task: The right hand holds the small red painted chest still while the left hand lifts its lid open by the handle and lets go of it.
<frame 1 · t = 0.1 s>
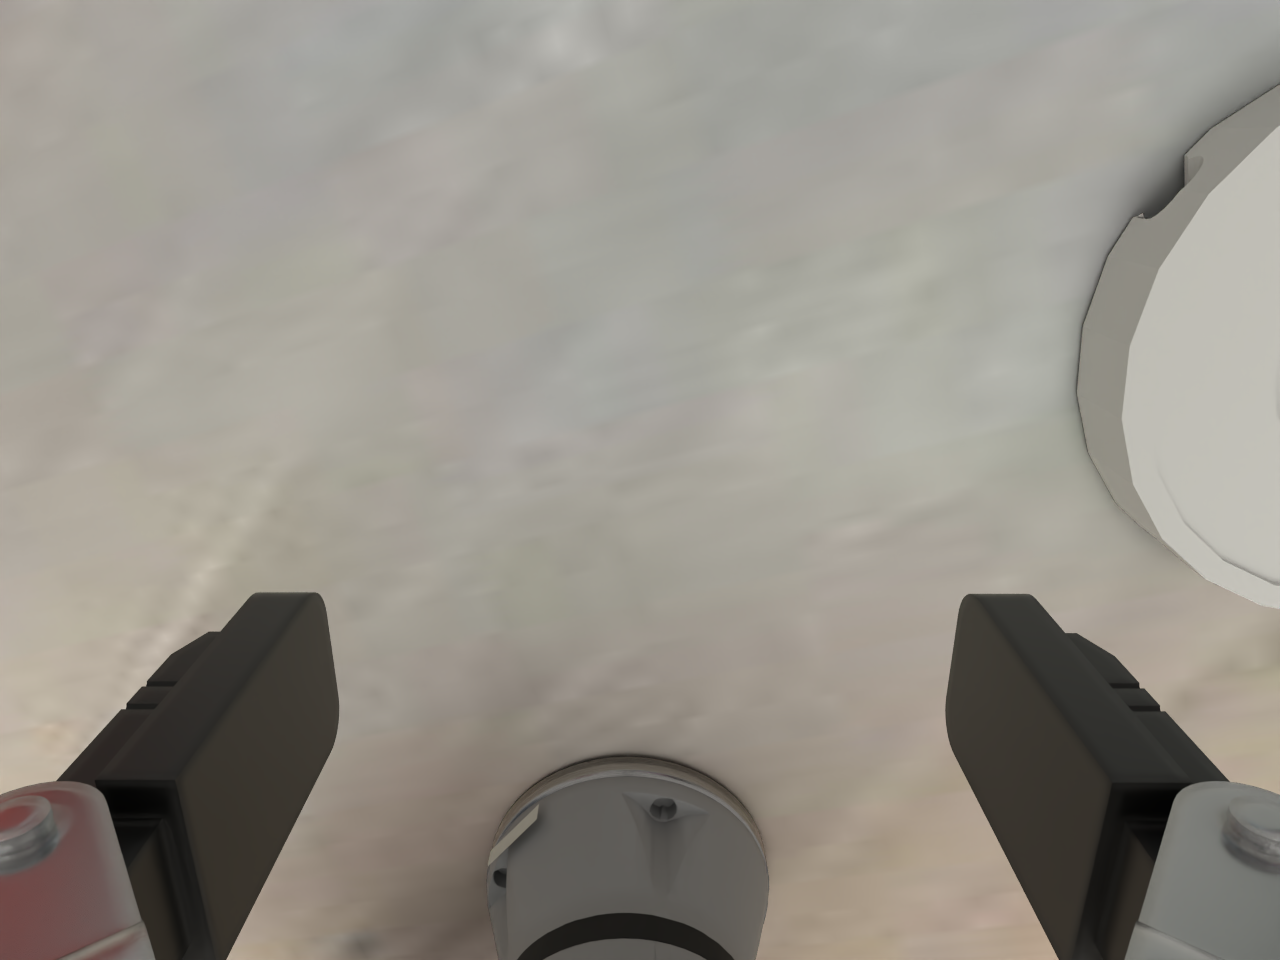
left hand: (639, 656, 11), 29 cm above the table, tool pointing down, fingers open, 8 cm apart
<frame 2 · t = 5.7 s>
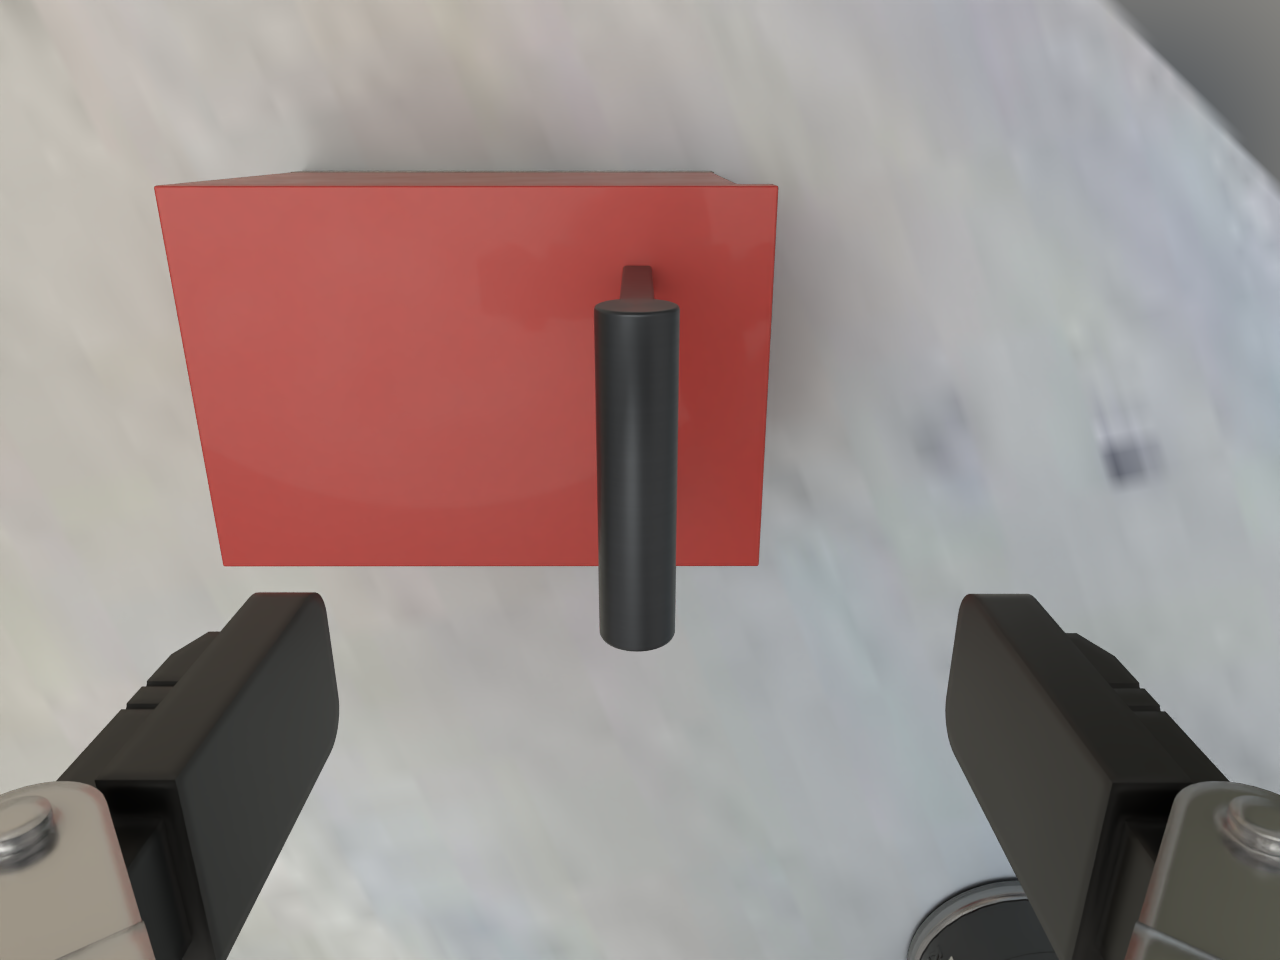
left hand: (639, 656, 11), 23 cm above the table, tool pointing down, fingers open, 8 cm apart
chest: (513, 318, 33), on the table
lid: (455, 428, 20), point 13 cm above the table, hinge at 0.0°
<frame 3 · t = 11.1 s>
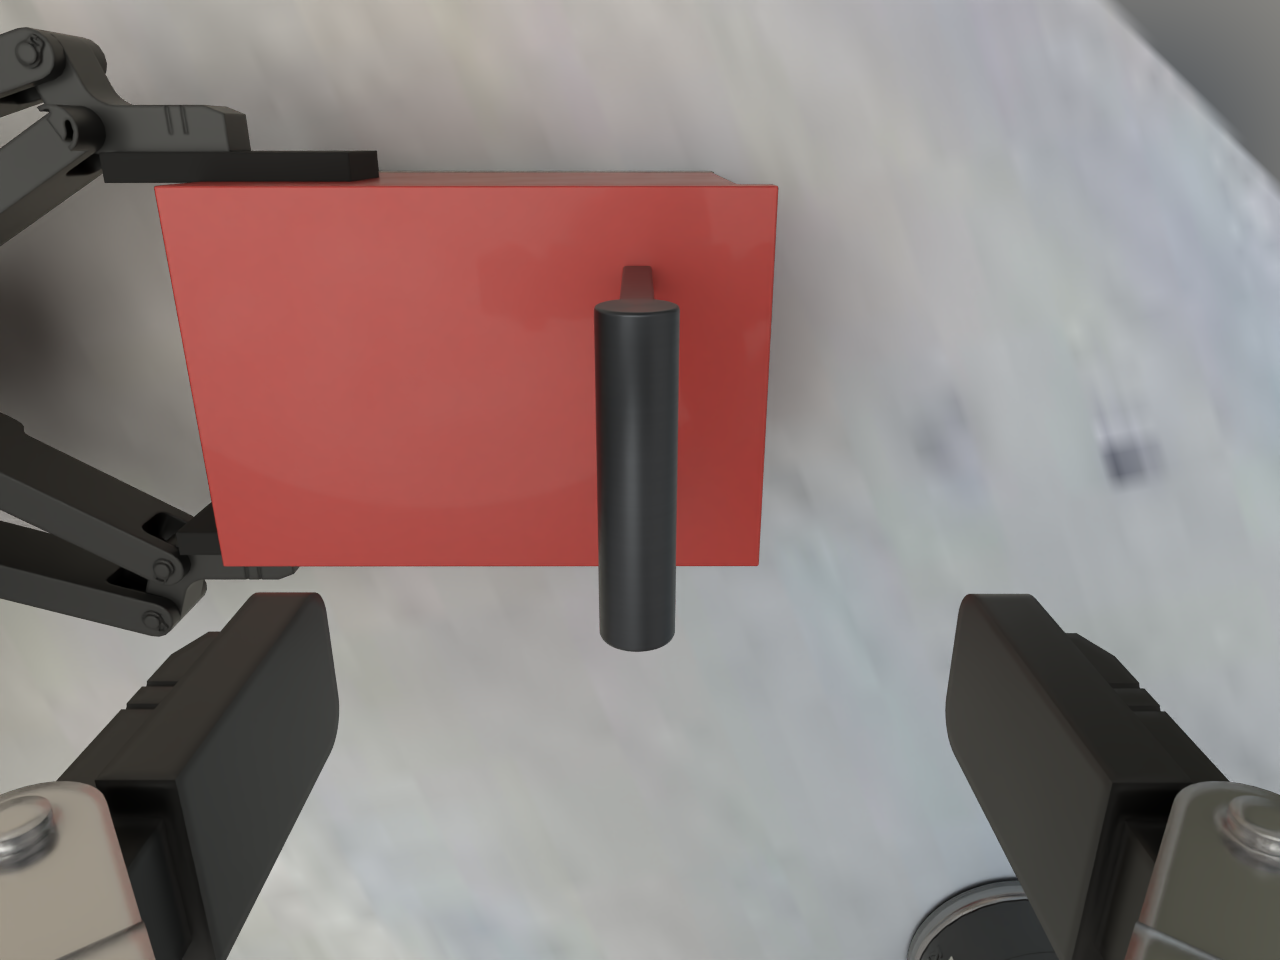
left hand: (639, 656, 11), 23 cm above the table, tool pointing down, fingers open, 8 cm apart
right hand: (384, 358, 27), fingers closed on chest, 10 cm apart
chest: (513, 318, 33), on the table, touching right hand
lid: (455, 428, 20), point 13 cm above the table, hinge at 0.0°
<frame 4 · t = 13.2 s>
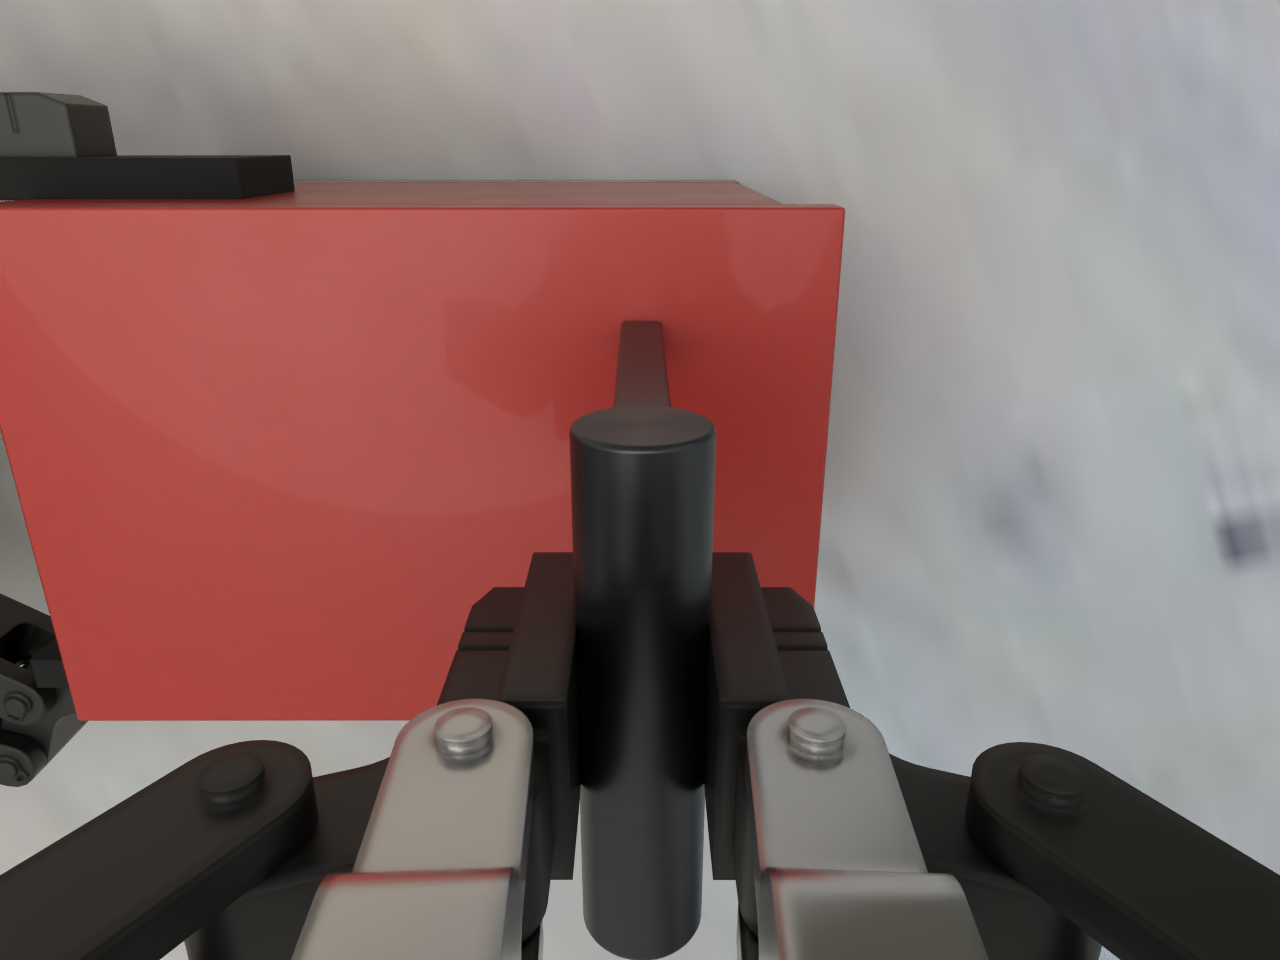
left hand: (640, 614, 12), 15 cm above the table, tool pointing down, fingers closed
chest: (485, 364, 26), on the table, touching right hand
lid: (371, 570, 14), point 13 cm above the table, hinge at -0.1°, touching left hand
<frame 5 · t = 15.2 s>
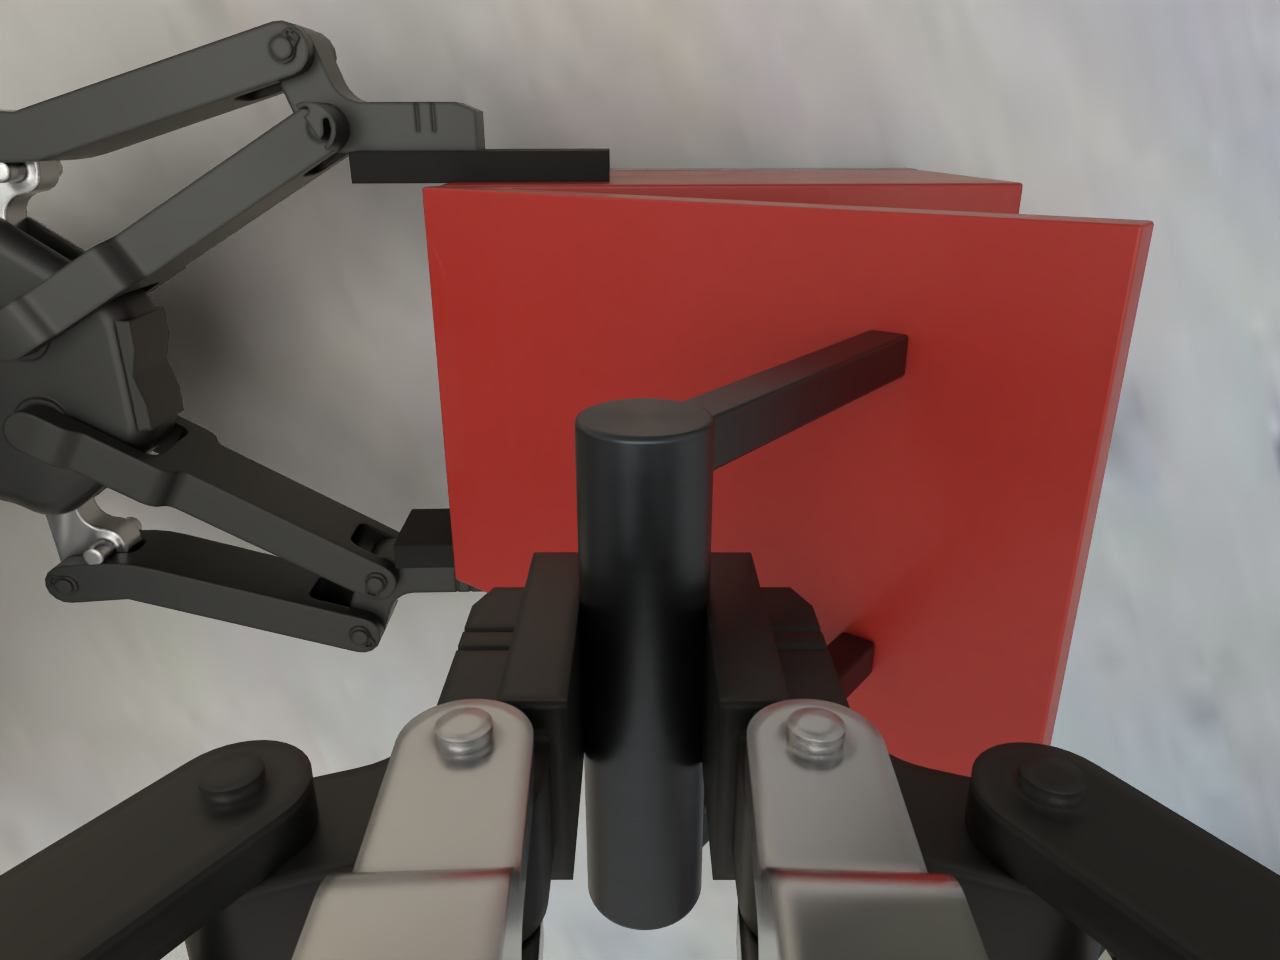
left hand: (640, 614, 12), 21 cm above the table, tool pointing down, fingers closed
right hand: (612, 363, 26), fingers closed on chest, 10 cm apart
chest: (695, 319, 32), on the table, touching right hand
lid: (575, 512, 16), point 17 cm above the table, hinge at 40.0°, touching left hand
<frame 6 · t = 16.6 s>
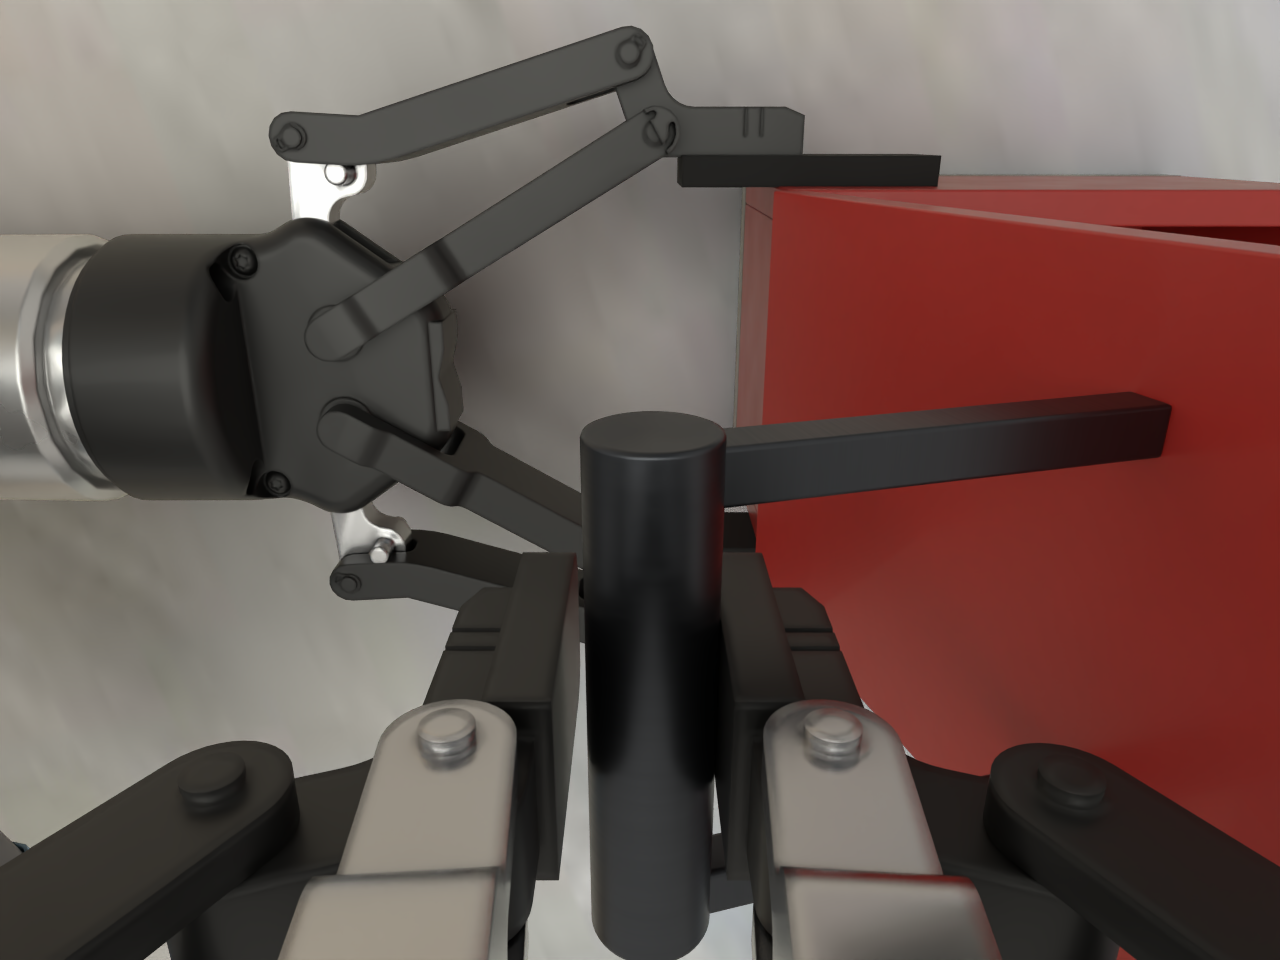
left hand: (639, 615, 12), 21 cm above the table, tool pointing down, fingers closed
right hand: (902, 368, 26), fingers closed on chest, 10 cm apart
chest: (935, 325, 32), on the table, touching right hand
lid: (765, 532, 15), point 18 cm above the table, hinge at 73.7°
when the right hand's fingers open (6 cm above the table, at t = 20.7 s): chest stays where it is, on the table.
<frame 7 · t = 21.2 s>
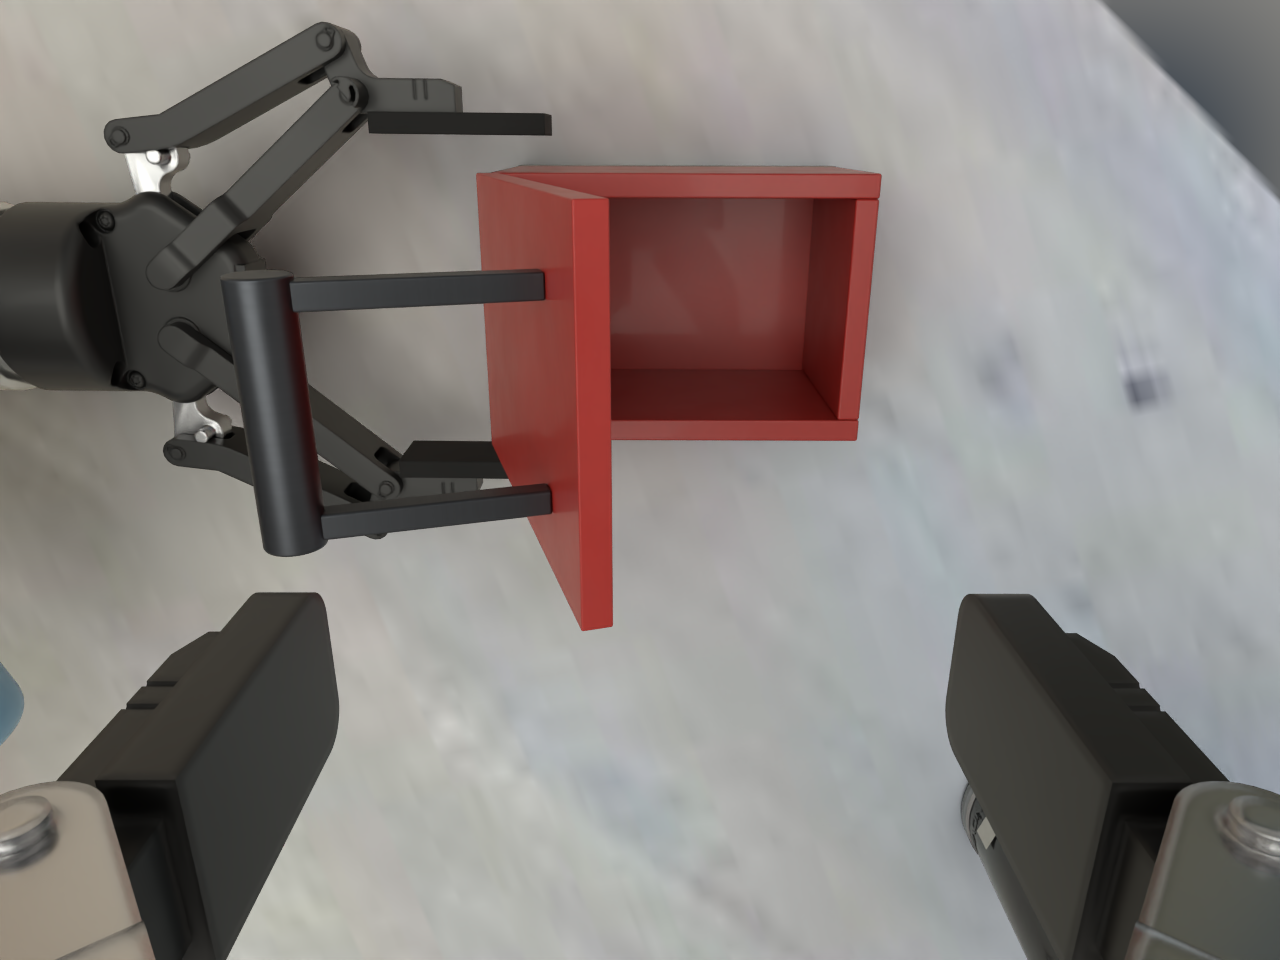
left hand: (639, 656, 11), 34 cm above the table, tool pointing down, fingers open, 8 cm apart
right hand: (553, 303, 37), fingers open, 13 cm apart
chest: (674, 278, 43), on the table
lid: (408, 368, 26), point 18 cm above the table, hinge at 72.9°
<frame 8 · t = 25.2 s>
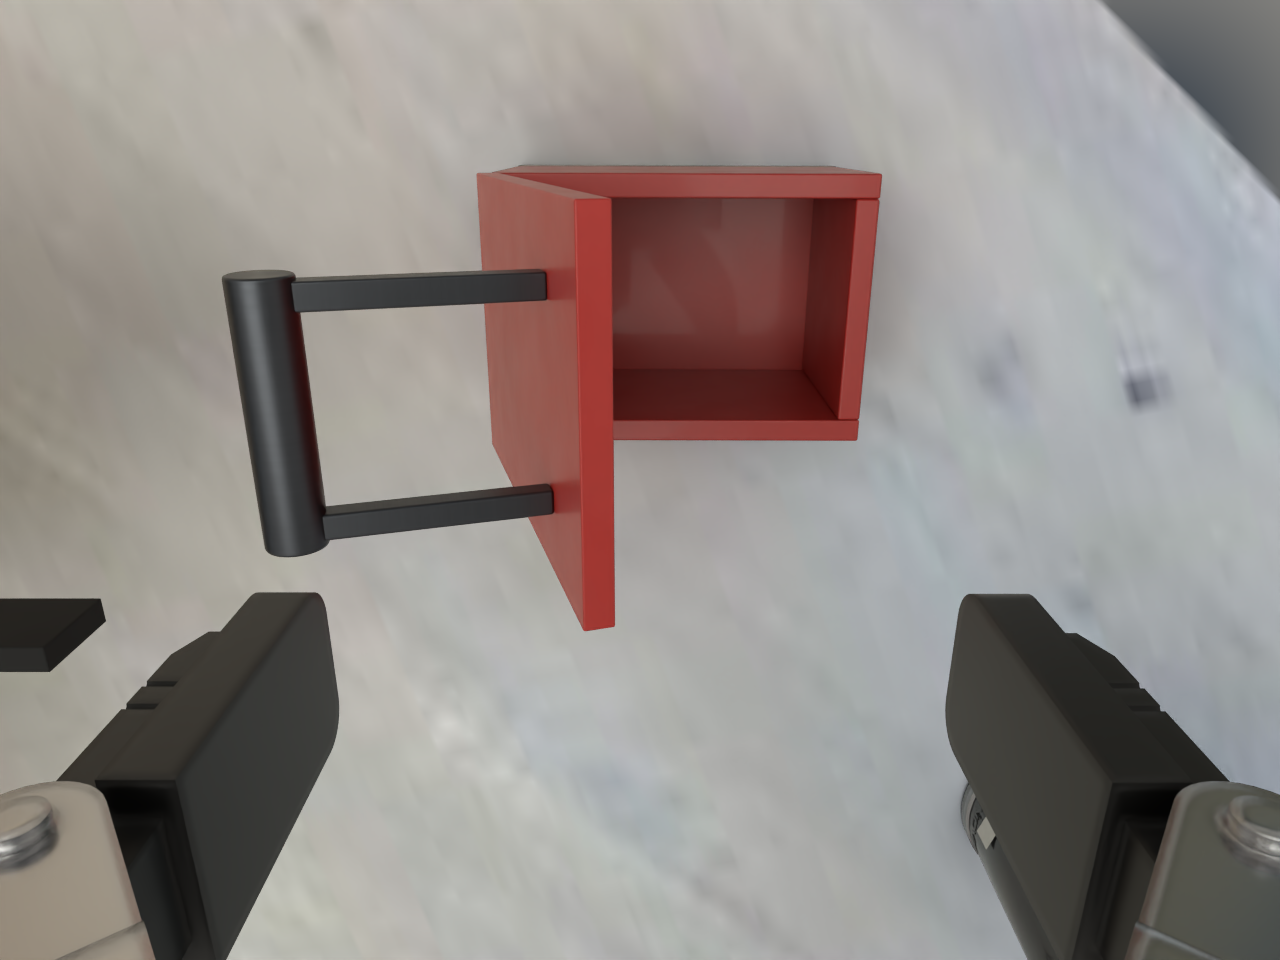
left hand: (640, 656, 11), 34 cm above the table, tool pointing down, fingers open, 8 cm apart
chest: (674, 278, 43), on the table
lid: (409, 368, 26), point 18 cm above the table, hinge at 72.8°
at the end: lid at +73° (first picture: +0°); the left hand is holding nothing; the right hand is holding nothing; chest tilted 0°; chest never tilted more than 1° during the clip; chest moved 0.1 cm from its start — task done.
